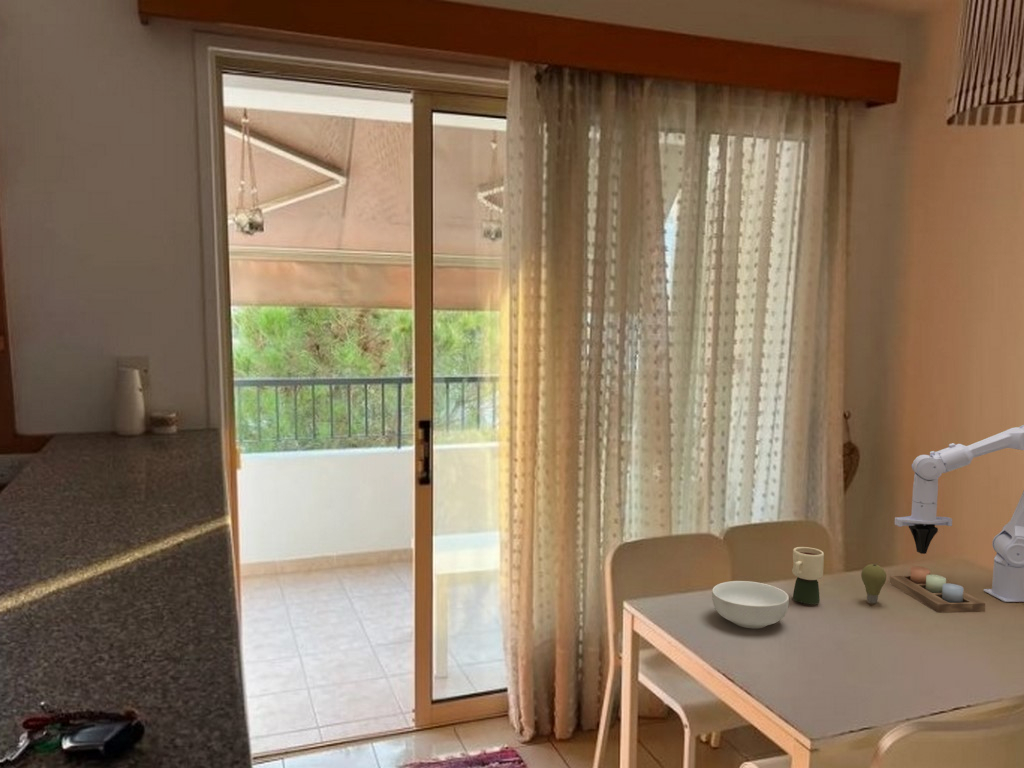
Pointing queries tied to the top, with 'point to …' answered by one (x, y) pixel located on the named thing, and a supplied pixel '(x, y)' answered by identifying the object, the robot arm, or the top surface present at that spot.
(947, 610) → the wooden compartment tray
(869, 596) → the light bulb
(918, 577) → the orange rounded lump
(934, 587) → the sage button
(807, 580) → the character mug
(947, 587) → the grey rounded piece
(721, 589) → the cereal bowl
